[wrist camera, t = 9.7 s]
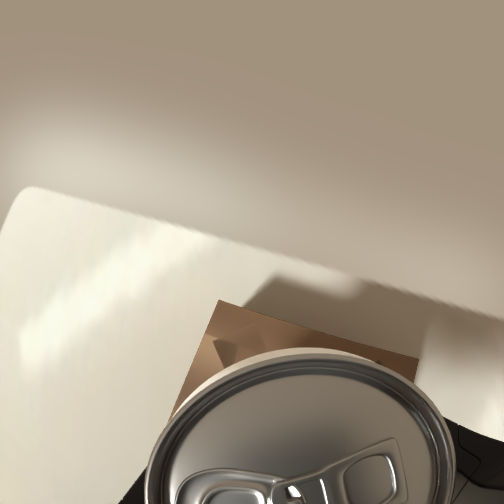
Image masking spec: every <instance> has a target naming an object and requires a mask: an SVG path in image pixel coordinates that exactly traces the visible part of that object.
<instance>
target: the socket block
mask: <svg viewBox="0 0 504 504" xmlns="http://www.w3.org/2000/svg"><path fill="white" fill-rule="evenodd" d="M289 348H326V349H333V350H339V351H344V352H348V353H351V354H355V355H358V356H361V357H363V358H366V359H368V360H371V361H373V362H375V363H377V364H379V365H382V366H384V367H386V368H389V369H391V370H393V371H395V372H396V373H398V374H400V375H402V376H403V377H405V378H406V379H408V380H409V381H411V382H412V383H414V379H415V374H416V370H417V366H418V361H419V359H417V358H413V357H409V356H405V355H401V354H397V353H393V352H389V351H386V350H382V349H378V348H374V347H371V346H367V345H363V344H360V343H356V342H352V341H349V340H345V339H342V338H338V337H335V336H331V335H328V334H325V333H321V332H318V331H314V330H311V329H308V328H304V327H301V326H298V325H295V324H291V323H288V322H285V321H282V320H279V319H276V318H272V317H269V316H266V315H263V314H260V313H257V312H254V311H251V310H248V309H245V308H242V307H239V306H236V305H233V304H230V303H227V302H224V301H221V300H218V303H217V305H216V307H215V310H214V312H213V315H212V317H211V319H210V322H209V324H208V326H207V329H206V331H205V334H204V336H203V338H202V341H201V343H200V346H199V348H198V350H197V353H196V355H195V358H194V360H193V362H192V365H191V367H190V370H189V372H188V374H187V377H186V379H185V382H184V384H183V386H182V389H181V391H180V394H179V396H178V399H177V401H176V403H175V406H174V408H173V411H172V413H171V416H170V418H169V421H170V420H171V419H172V417H173V416H174V414H175V413H176V411H177V410H178V408H179V407H180V406H181V405H182V403H183V402H184V401H185V400H186V399H187V398H188V397H189V396H190V395H191V394H192V393H193V392H194V391H195V390H196V389H197V388H198V387H199V386H200V385H202V384H203V383H204V382H205V381H207V380H208V379H210V378H211V377H212V376H214V375H215V374H217V373H219V372H220V371H222V370H224V369H225V368H227V367H229V366H231V365H233V364H235V363H238V362H240V361H242V360H245V359H247V358H250V357H253V356H256V355H259V354H263V353H267V352H271V351H276V350H282V349H289ZM169 421H168V422H169ZM167 424H168V423H167Z"/></svg>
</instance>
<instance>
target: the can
mask: <svg viewBox="0 0 504 504" xmlns="http://www.w3.org/2000/svg"><path fill="white" fill-rule="evenodd" d="M455 481H456V457H455V450H454V445H453V441H452V438H451V435H450V432H449V429H448V427H447V425H446V422H445V420H444V419H443V417H442V415H441V413H440V412H439V410H438V409H437V407H436V406H435V405H434V403H433V402H432V401H431V400H430V399H429V398H428V396H427V395H426V394H425V393H424V392H423V391H422V390H420V389H419V388H418V387H417V386H416V385H415V384H413V383H412V382H411V381H409V380H408V379H406V378H405V377H403V376H402V375H400V374H398V373H396V372H395V371H393V370H391V369H389V368H386V367H384V366H382V365H379V364H377V363H375V362H373V361H371V360H368V359H366V358H363V357H361V356H358V355H355V354H351V353H348V352H344V351H339V350H333V349H326V348H289V349H282V350H276V351H271V352H267V353H263V354H259V355H256V356H253V357H250V358H247V359H245V360H242V361H240V362H238V363H235V364H233V365H231V366H229V367H227V368H225V369H224V370H222V371H220V372H219V373H217V374H215V375H214V376H212V377H211V378H210V379H208V380H207V381H205V382H204V383H203V384H202V385H200V386H199V387H198V388H197V389H196V390H195V391H194V392H193V393H192V394H191V395H190V396H189V397H188V398H187V399H186V400H185V401H184V402H183V403H182V405H181V406H180V407H179V408H178V410H177V411H176V413H175V414H174V416H173V417H172V419H171V420H170V421H169V422H168V424H167V425H166V427H165V428H164V430H163V431H162V433H161V434H160V436H159V438H158V440H157V442H156V444H155V446H154V448H153V450H152V453H151V456H150V459H149V462H148V465H147V470H146V475H145V483H144V501H145V504H451V501H452V497H453V493H454V488H455Z"/></svg>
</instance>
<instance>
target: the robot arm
mask: <svg viewBox="0 0 504 504" xmlns="http://www.w3.org/2000/svg"><path fill="white" fill-rule="evenodd" d="M442 417H443V416H442ZM443 419H444V420H445V422H446V425H447V427H448V429H449V432H450V435H451V438H452V441H453V445H454V450H455V457H456V481H455V488H454V493H453V497H452V501H451V504H504V442H502V441H499V440H496V439H493V438H489V437H487V436H484V435H481V434H478V433H476V432H474V431H472V430H469V429H467V428H465V427H463V426H461V425H458V424H457V423H455V422H453V421H451V420H449V419H447V418H445V417H443ZM146 470H147V467H146V468H145V469H144V471H143V472H142V473H141V475H140V476H139V477H138V479H137V480H136V481H135V483H134V484H133V485H132V487H131V488H130V489H129V491H128V492H127V493H126V494H125V496H124V497H123V500H121V501H120V502H119V503H118V504H145V501H144V483H145V475H146Z"/></svg>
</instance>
